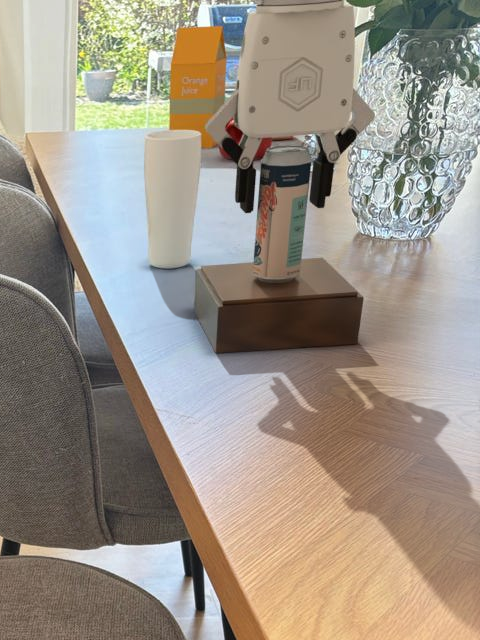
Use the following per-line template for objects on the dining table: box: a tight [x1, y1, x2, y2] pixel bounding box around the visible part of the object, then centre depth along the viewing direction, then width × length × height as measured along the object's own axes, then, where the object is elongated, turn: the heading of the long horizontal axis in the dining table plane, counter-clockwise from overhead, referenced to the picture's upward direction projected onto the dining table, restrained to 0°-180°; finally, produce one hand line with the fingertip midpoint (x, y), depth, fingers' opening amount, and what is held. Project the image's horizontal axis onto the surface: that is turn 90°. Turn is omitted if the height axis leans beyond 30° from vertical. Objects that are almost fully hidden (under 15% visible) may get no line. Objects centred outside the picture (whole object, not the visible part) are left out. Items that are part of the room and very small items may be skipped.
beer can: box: [252, 144, 313, 283], centre depth 98 cm, size 5×5×12 cm
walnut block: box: [193, 257, 364, 354], centre depth 103 cm, size 14×14×5 cm
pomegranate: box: [217, 117, 273, 161], centre depth 179 cm, size 10×10×9 cm
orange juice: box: [168, 25, 227, 149], centre depth 191 cm, size 8×9×20 cm
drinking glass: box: [143, 129, 202, 270], centre depth 122 cm, size 7×7×15 cm
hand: (281, 206), depth 97 cm, fingers open, 6 cm apart
